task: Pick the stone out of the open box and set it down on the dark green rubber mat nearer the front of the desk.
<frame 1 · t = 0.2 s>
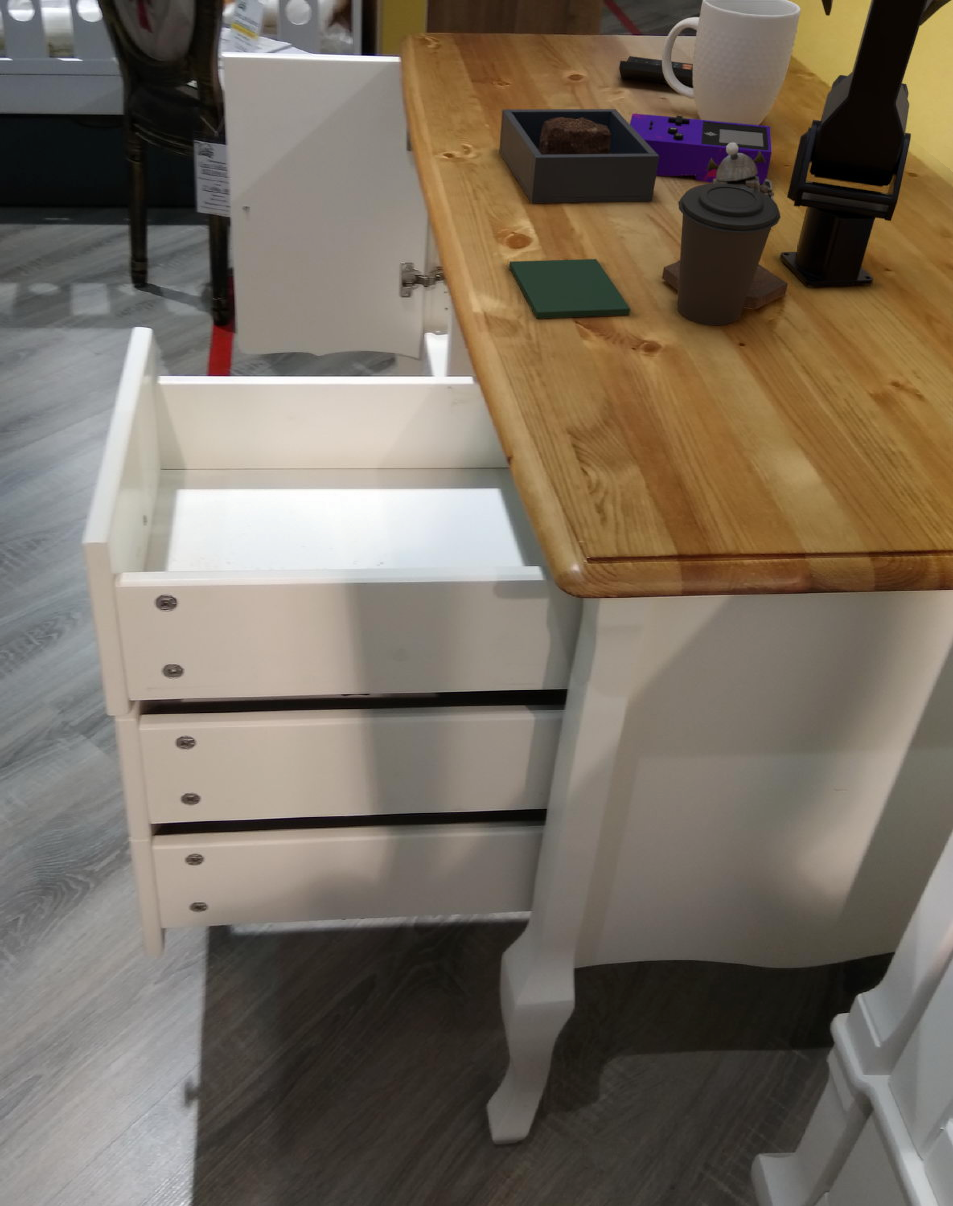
hand: (873, 17, 120), 15 cm above the table, tool tilted 30°, fingers open, 9 cm apart
coffee cup: (708, 311, 99), on the table, touching robot figurine
robot figurine: (724, 288, 102), on the table, touching coffee cup
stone: (573, 173, 121), resting on open box
open box: (573, 176, 122), on the table
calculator: (658, 80, 151), on the table
mat: (567, 290, 100), on the table
mug: (719, 123, 139), on the table
handheld gaming console: (690, 171, 127), on the table, touching open box
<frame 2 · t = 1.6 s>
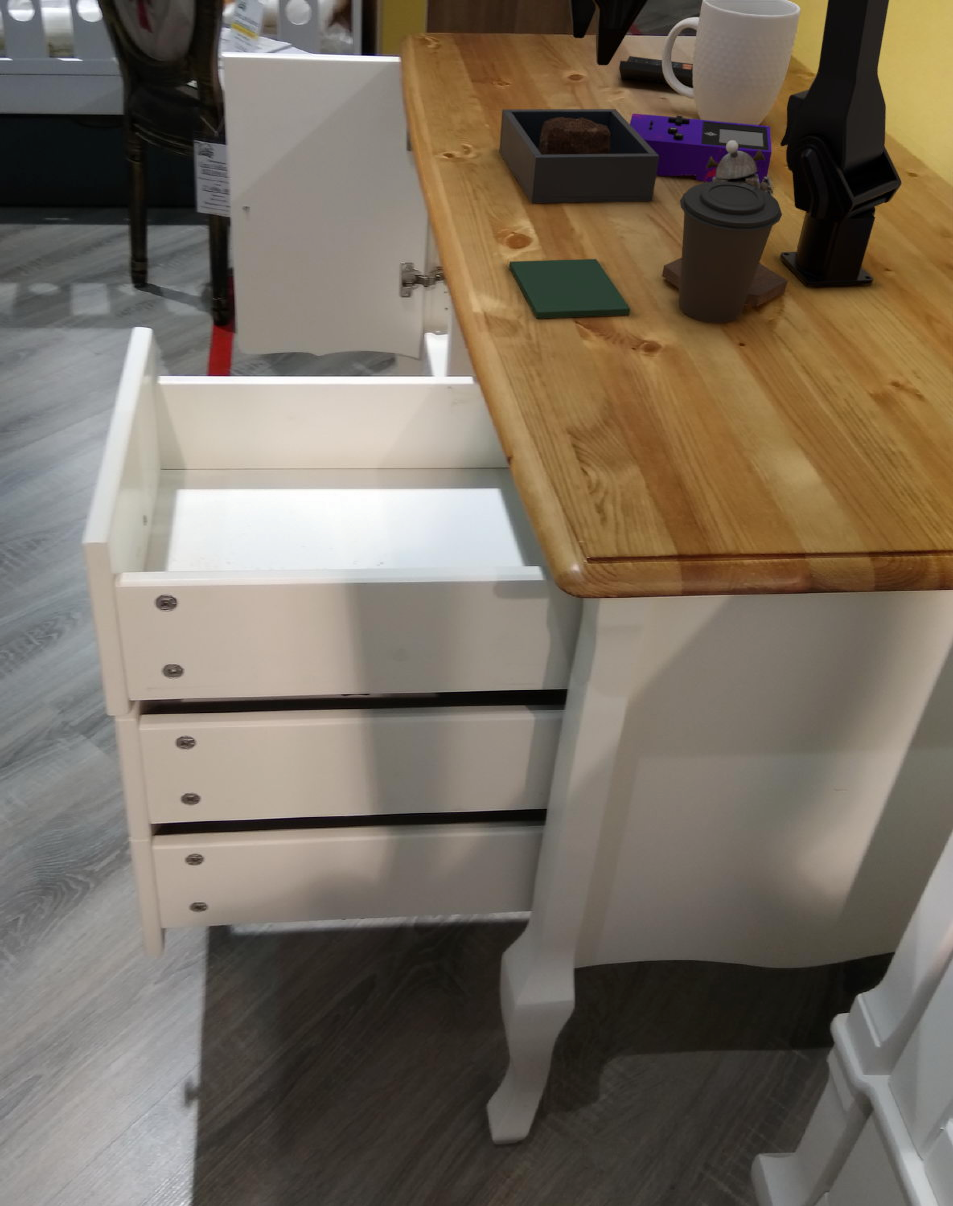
hand: (589, 51, 114), 12 cm above the table, tool pointing down, fingers open, 9 cm apart
robot figurine: (724, 286, 102), on the table, touching coffee cup
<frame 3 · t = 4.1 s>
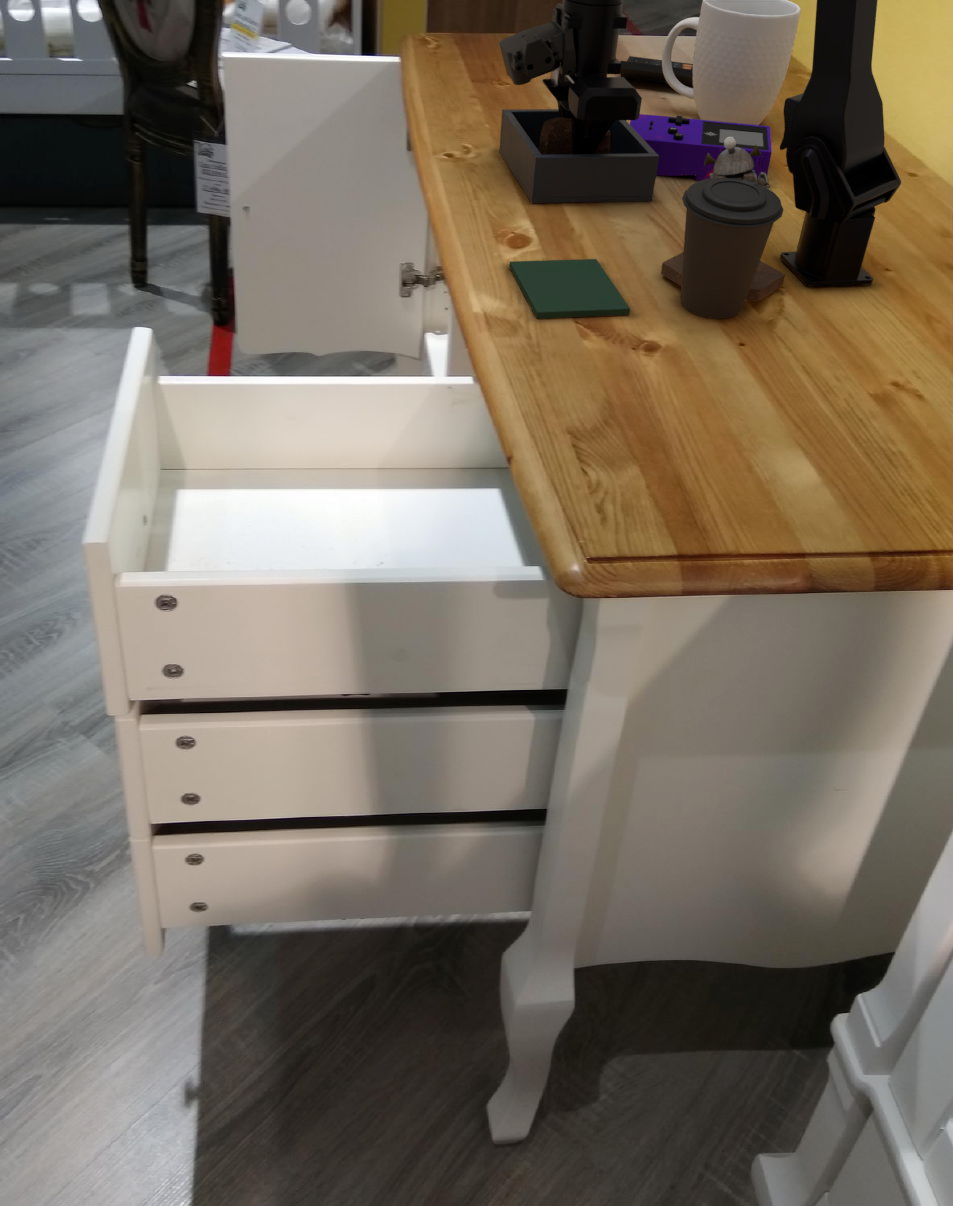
hand: (574, 164, 121), 1 cm above the table, tool pointing down, fingers closed on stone, 3 cm apart
robot figurine: (723, 281, 103), on the table, touching coffee cup
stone: (573, 173, 121), resting on open box, touching gripper
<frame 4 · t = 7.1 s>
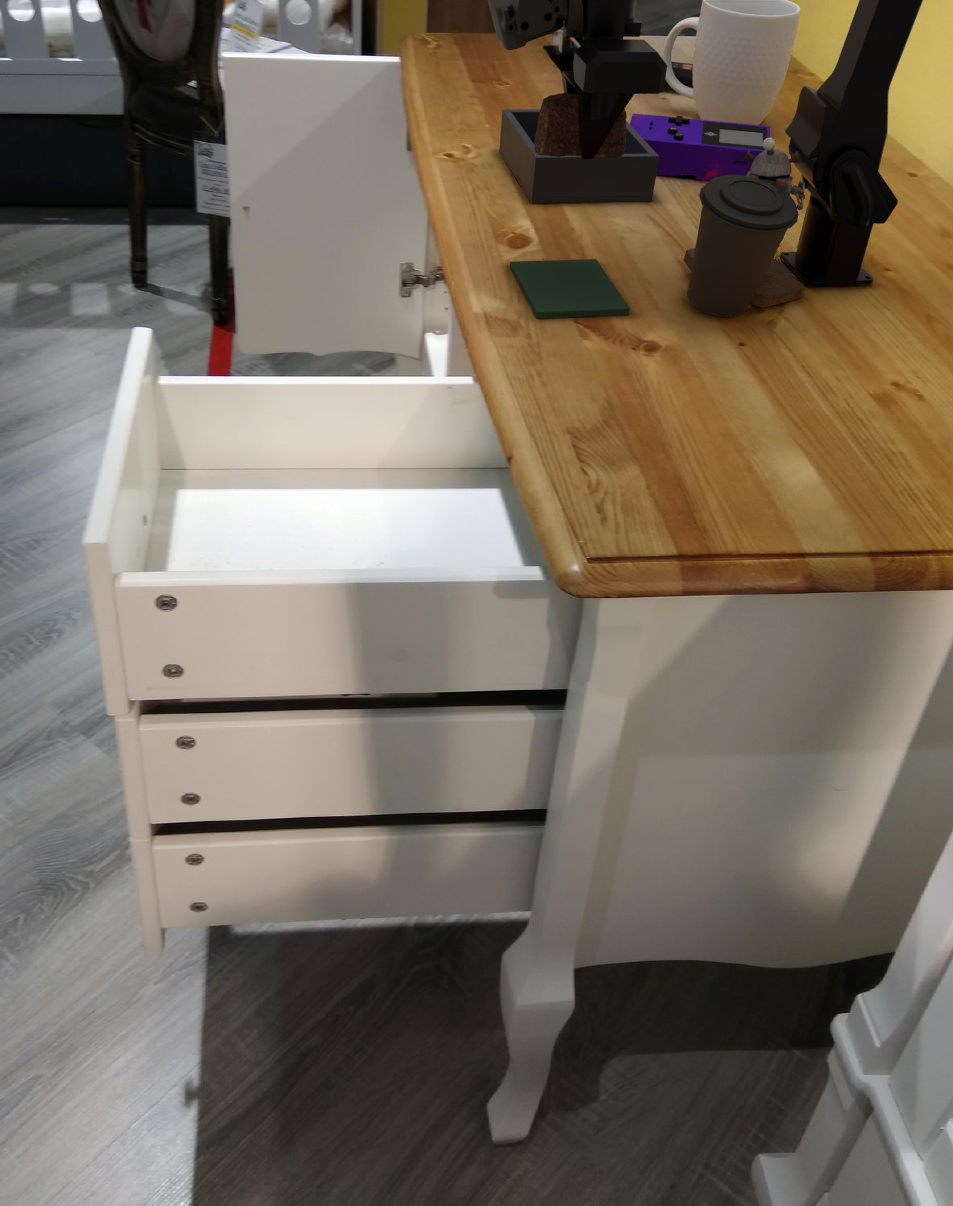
hand: (581, 151, 97), 10 cm above the table, tool pointing down, fingers closed on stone, 3 cm apart
robot figurine: (742, 282, 103), on the table, touching arm, coffee cup
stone: (579, 163, 98), point 9 cm above the table, touching gripper
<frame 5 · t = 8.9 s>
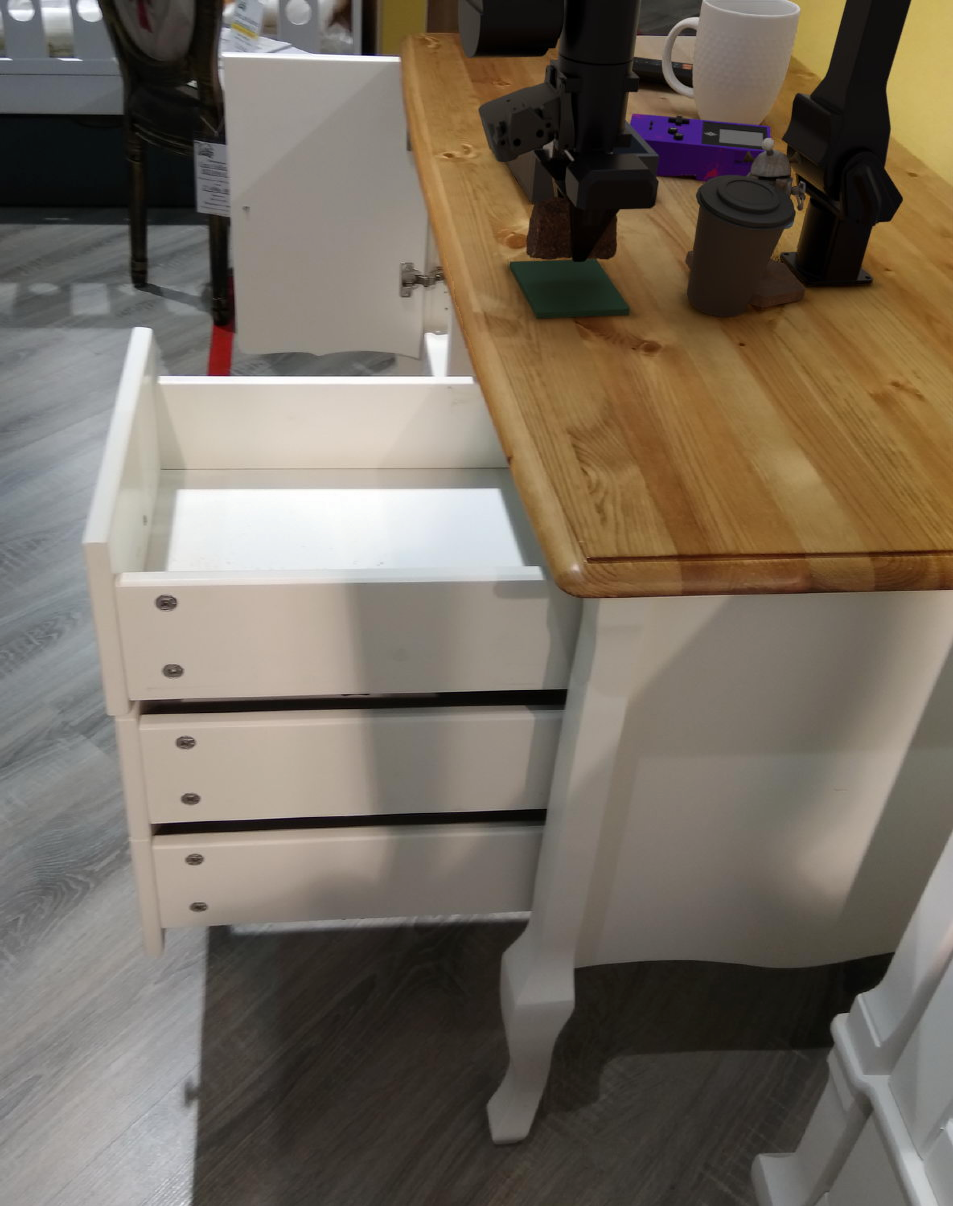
hand: (573, 253, 98), 3 cm above the table, tool pointing down, fingers closed on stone, 3 cm apart
robot figurine: (743, 283, 103), on the table, touching arm, coffee cup
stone: (571, 263, 98), point 2 cm above the table, touching gripper
when the fingers open (1 cm above the table, at t = 9.8 s): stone stays where it is, resting on mat.
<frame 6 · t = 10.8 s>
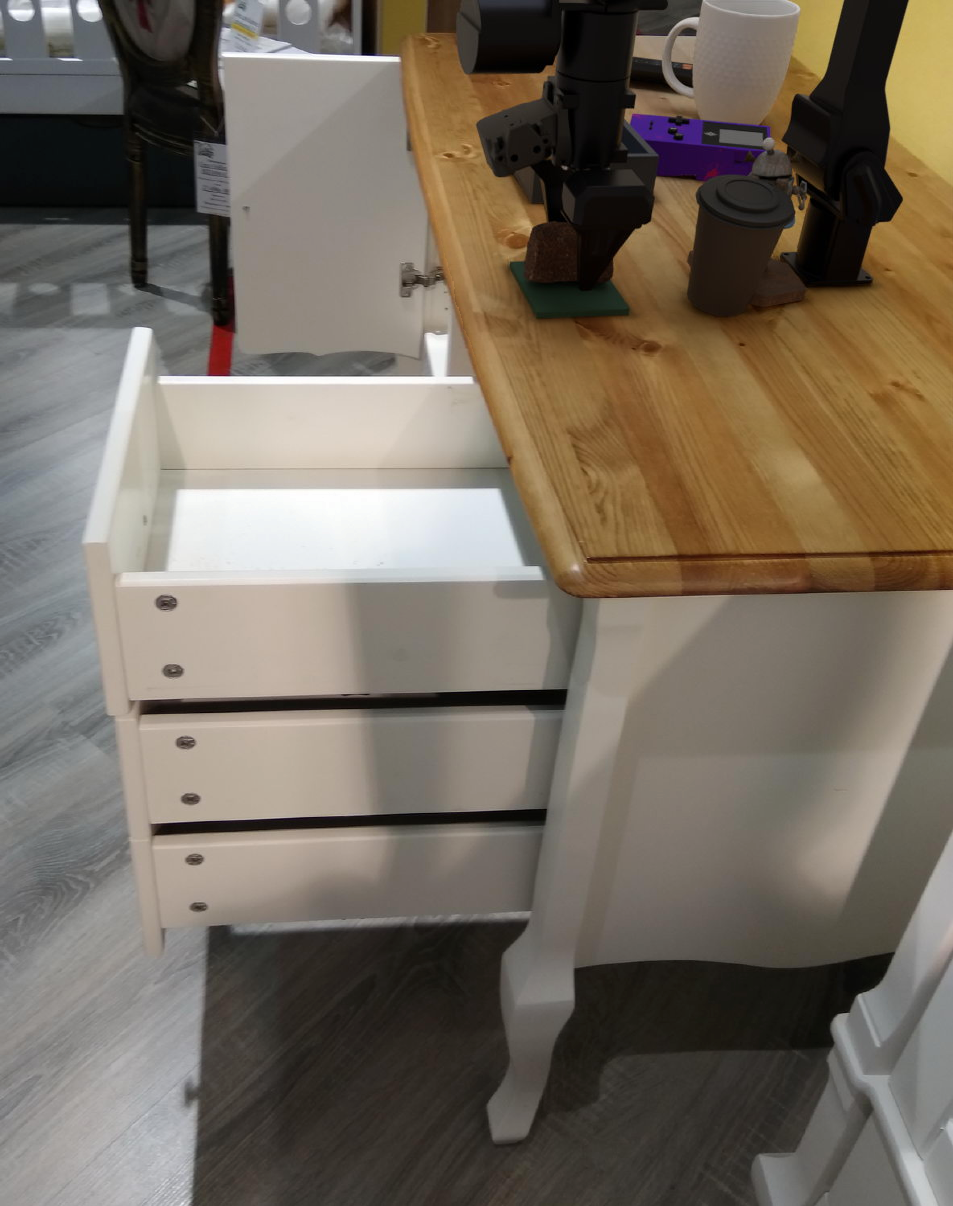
hand: (569, 266, 99), 2 cm above the table, tool pointing down, fingers open, 9 cm apart
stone: (568, 286, 100), resting on mat
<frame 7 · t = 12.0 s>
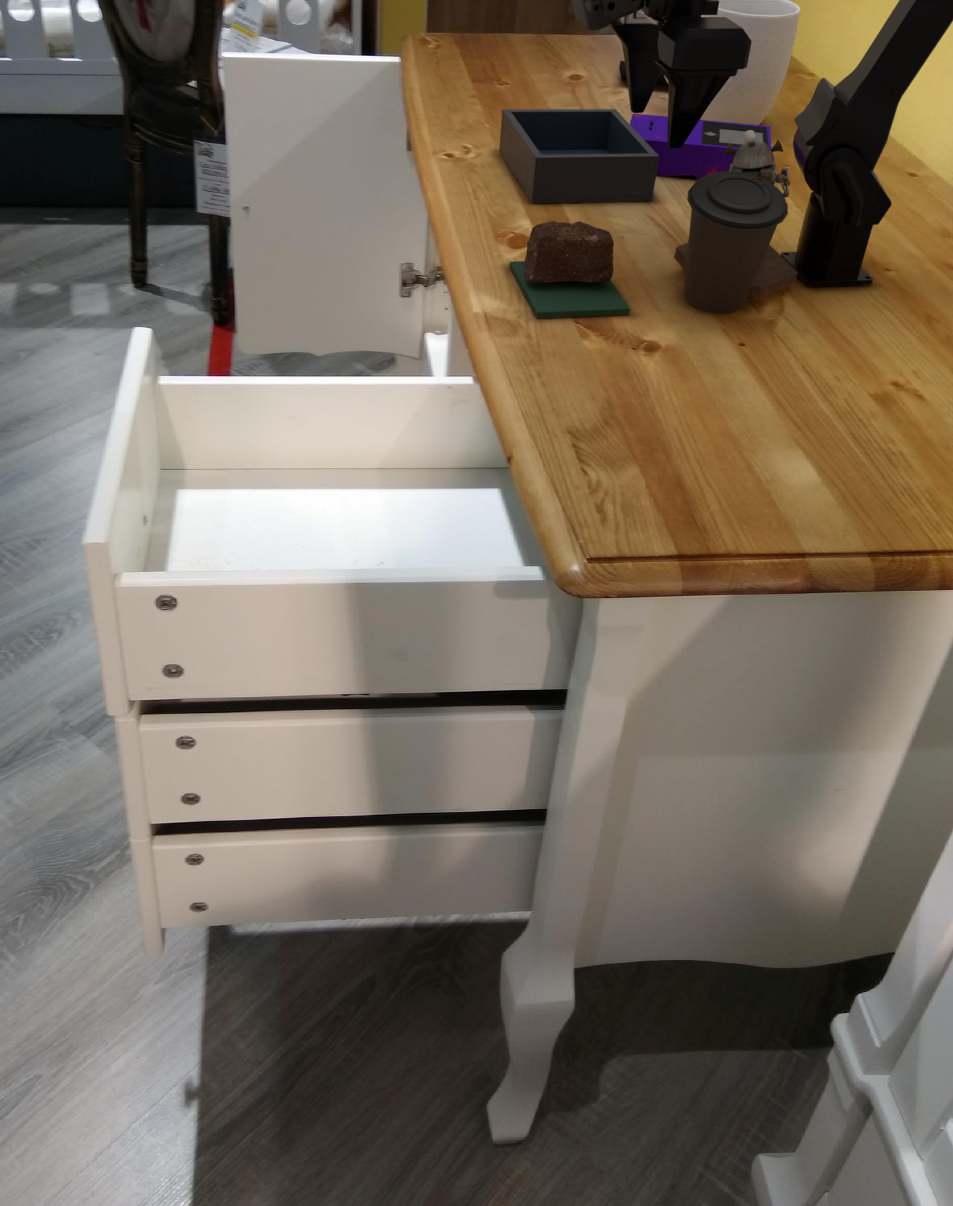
hand: (655, 129, 99), 11 cm above the table, tool pointing down, fingers open, 9 cm apart
robot figurine: (735, 272, 103), point 1 cm above the table, touching arm, coffee cup
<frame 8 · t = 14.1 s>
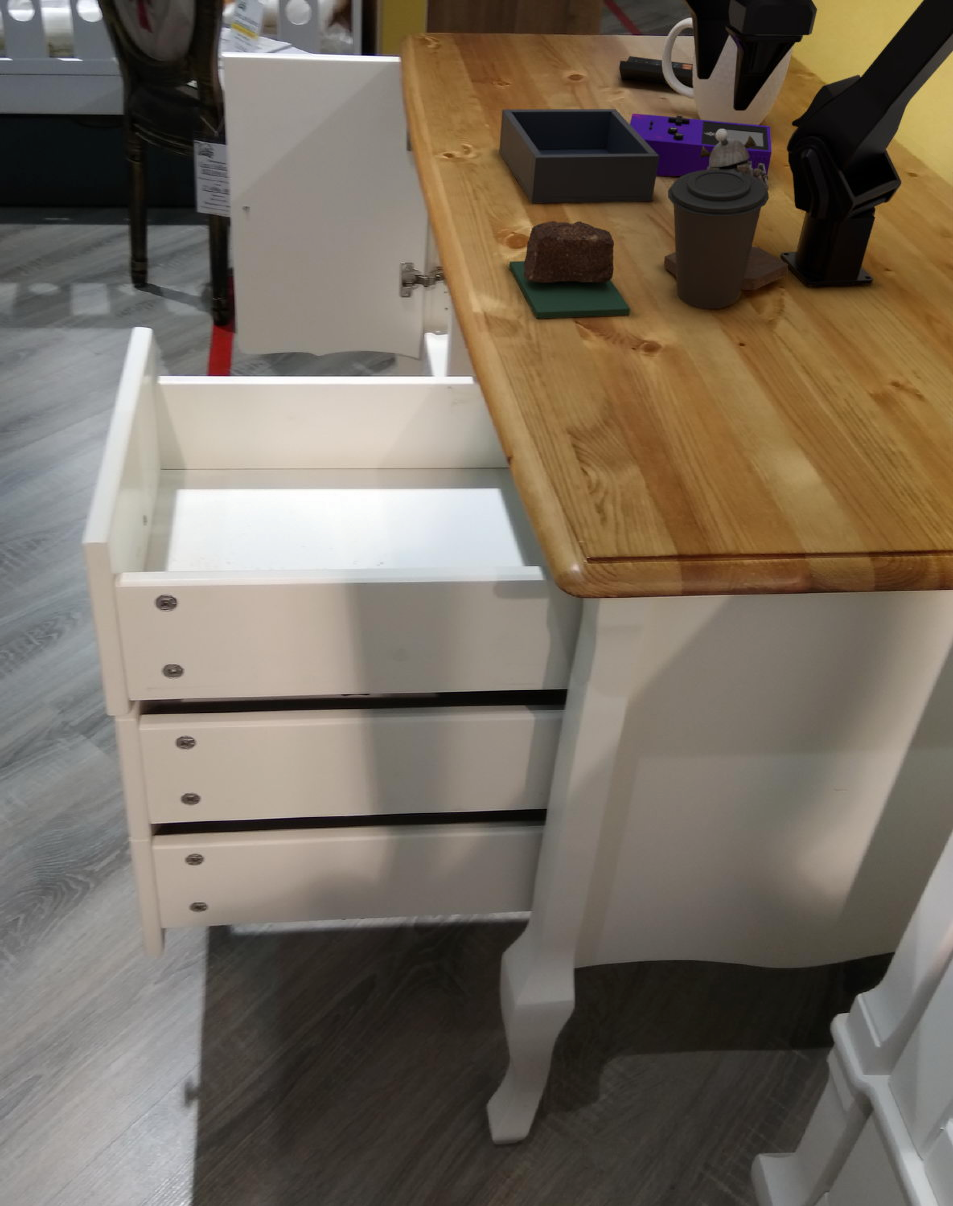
hand: (720, 94, 106), 12 cm above the table, tool pointing down, fingers open, 9 cm apart
coffee cup: (707, 295, 101), on the table, touching robot figurine
robot figurine: (726, 273, 104), on the table, touching arm, coffee cup
everything else where it was.
at the end: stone inside the target area on the mat (0.1 cm from its centre), point 0.4 cm above the mat's base; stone touching mat; the gripper is holding nothing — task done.
